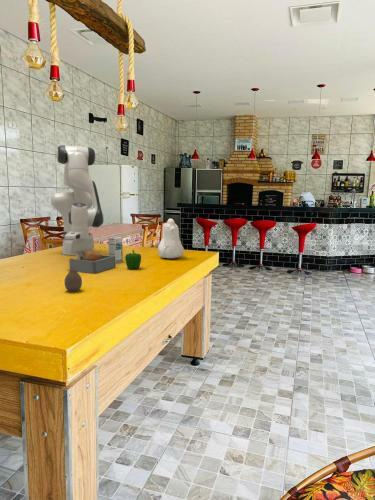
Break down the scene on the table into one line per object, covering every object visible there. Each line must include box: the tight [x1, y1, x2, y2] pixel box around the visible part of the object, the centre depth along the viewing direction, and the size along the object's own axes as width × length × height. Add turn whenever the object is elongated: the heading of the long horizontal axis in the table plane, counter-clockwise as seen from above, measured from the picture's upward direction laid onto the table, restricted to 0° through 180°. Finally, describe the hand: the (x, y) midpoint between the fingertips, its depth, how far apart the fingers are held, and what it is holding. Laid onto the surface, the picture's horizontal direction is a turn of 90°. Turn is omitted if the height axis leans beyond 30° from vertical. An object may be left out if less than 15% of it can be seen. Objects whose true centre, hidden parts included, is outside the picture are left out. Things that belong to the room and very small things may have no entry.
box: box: [69, 254, 116, 275], centre depth 202 cm, size 18×15×6 cm
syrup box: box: [107, 236, 124, 264], centre depth 222 cm, size 6×6×14 cm
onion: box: [82, 249, 101, 261], centre depth 202 cm, size 10×10×10 cm
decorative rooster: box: [157, 218, 185, 259], centre depth 241 cm, size 25×16×25 cm, turn 5°
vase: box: [64, 269, 83, 293], centre depth 158 cm, size 7×7×9 cm
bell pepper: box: [124, 249, 142, 270], centre depth 205 cm, size 8×8×10 cm
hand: (80, 260), depth 205 cm, fingers closed
